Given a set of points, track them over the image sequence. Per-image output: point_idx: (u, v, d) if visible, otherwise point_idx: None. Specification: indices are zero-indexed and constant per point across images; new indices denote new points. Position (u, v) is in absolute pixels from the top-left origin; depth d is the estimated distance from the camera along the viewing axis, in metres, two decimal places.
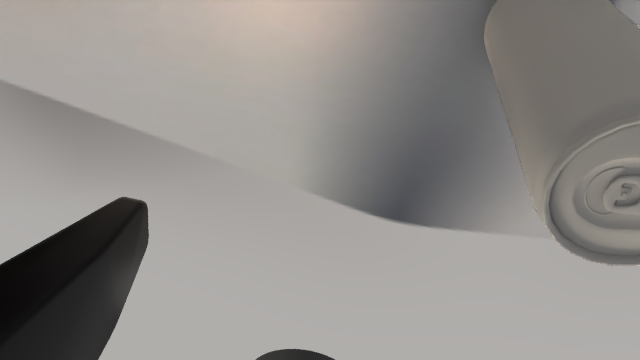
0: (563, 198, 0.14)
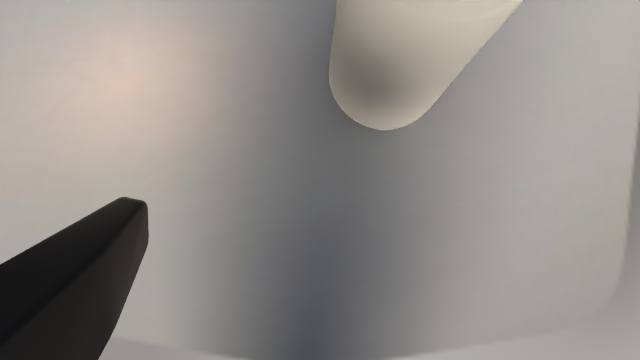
0: None
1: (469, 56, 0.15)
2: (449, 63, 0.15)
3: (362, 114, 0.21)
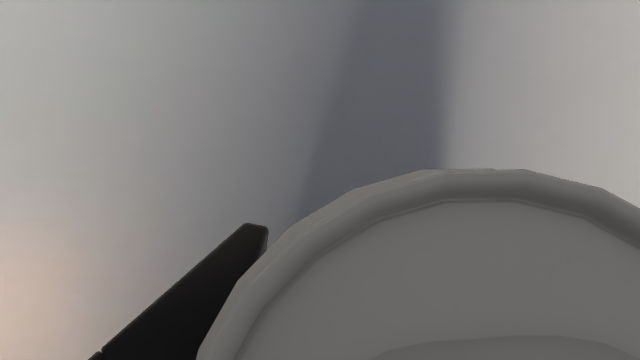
0: None
1: None
2: None
3: None
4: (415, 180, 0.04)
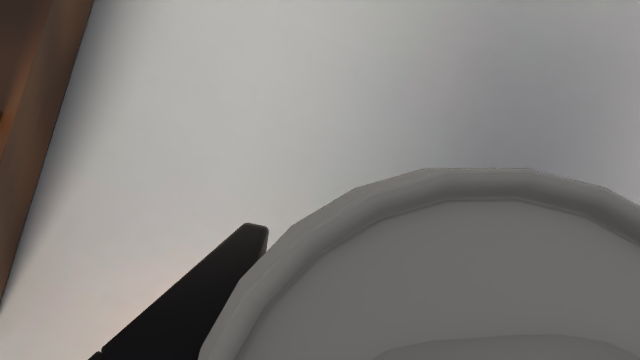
0: None
1: None
2: None
3: None
4: (415, 178, 0.04)
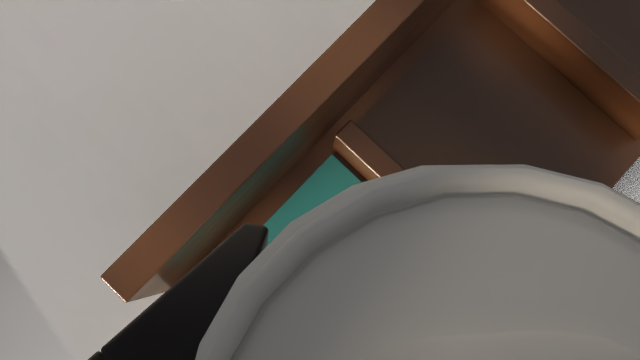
0: None
1: None
2: None
3: None
4: (415, 174, 0.04)
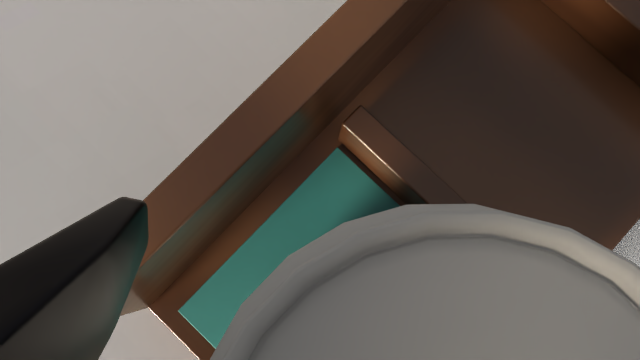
0: None
1: None
2: None
3: None
4: (400, 219, 0.04)
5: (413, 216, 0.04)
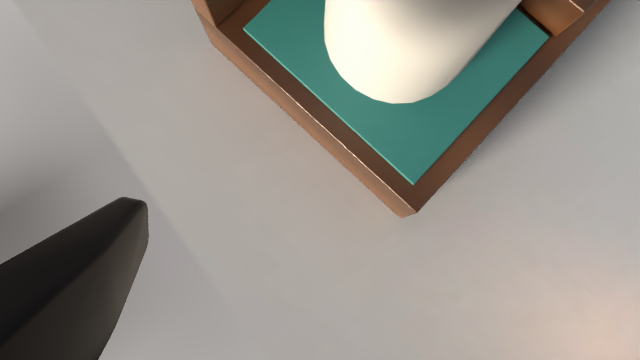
0: None
1: None
2: None
3: (369, 80, 0.16)
4: None
5: None
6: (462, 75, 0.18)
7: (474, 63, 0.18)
